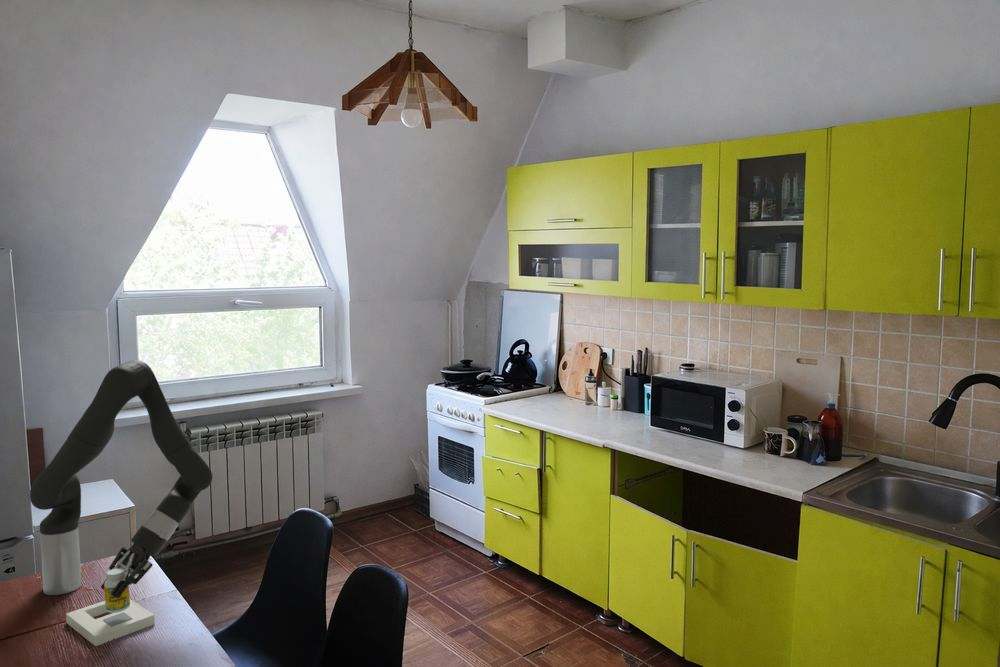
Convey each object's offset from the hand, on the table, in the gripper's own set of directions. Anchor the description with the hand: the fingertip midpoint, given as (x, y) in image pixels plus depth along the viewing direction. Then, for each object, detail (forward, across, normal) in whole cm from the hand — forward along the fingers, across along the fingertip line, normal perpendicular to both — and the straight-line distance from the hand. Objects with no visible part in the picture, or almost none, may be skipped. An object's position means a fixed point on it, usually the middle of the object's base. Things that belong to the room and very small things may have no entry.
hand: (109, 592), depth 177 cm
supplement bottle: (+2, 0, +5) cm, 5 cm away
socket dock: (+6, -5, +8) cm, 11 cm away
